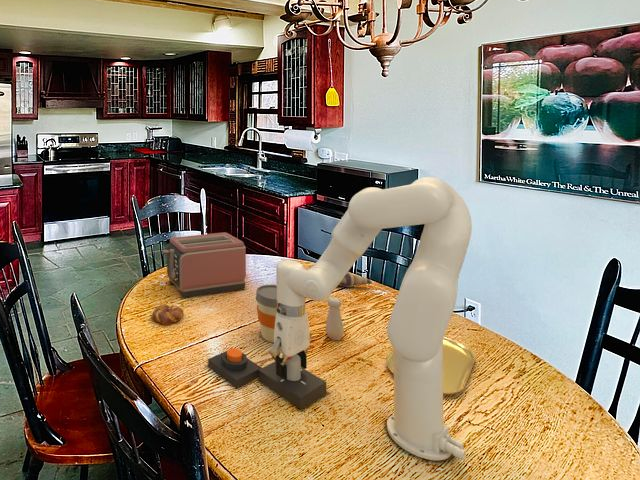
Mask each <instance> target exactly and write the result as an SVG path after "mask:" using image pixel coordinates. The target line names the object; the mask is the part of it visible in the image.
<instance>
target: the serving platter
mask: <svg viewBox="0 0 640 480" xmlns="http://www.w3.org/2000/svg"><path fill="white" fill-rule="evenodd" d="M385 362H386V367H387V368H388V369H389V371H390V372H391V374H393V375H394V348H393V349H392V350H391V352H390V353H389V354H388V355H387V357H386V360H385ZM475 362H476V356H475V354H474V353H473V352H472V351H471V350H470V349H469V348H468V347H467V346H465V345H464V344H462V343H461V342H459V341H456V340H454V339H451V338H449V337H446V336H444V338H443V396H451V395H455V394H458V393H460V392H462V391H463V390H464V389H465V387H466V385H467V382H468V380H469V377H470V375H471V372H472V369H473V367H474V365H475Z"/></svg>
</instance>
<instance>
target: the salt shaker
mask: <svg viewBox="0 0 640 480" xmlns="http://www.w3.org/2000/svg"><path fill="white" fill-rule="evenodd" d="M326 301H327V306H328V307H329V308H328V312H327V317H326V321H325V322H326V323H325V326H324V327H325V332H326V334H327V337H328V338H329V339H331V340H333V341H340V340H341V339H343V336H344V334H345V328H344V324H343V319H342V314H341V309H340V308H341V306H342V301H341V299H340V298H339V297H335V296H329V297H328V298H327V299H326Z"/></svg>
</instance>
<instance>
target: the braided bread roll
mask: <svg viewBox="0 0 640 480" xmlns="http://www.w3.org/2000/svg"><path fill="white" fill-rule="evenodd" d="M183 316H184V310H183V309H182V308H181V307H180V306H175V305H168V304H165V305H160V306H156V308H154V310H153V311H152V315H151V317H152V319H153V321H154V322H156V323H159V324H162V325H164V326H165V325H166V326H167V325H171V324H173V323H177V322H180V321H181V319H182V317H183Z"/></svg>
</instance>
